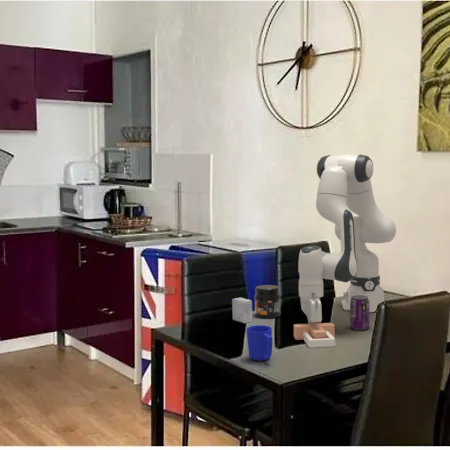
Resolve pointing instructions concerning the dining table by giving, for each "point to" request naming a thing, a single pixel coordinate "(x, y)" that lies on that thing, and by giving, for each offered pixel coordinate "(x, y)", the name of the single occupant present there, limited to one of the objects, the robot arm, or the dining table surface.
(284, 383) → the dining table surface
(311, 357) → the dining table surface
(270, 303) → the supplement container
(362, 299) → the beverage can
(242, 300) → the medicine box
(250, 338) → the mug
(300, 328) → the t block
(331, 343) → the dock
